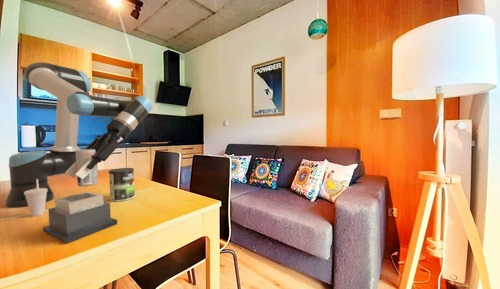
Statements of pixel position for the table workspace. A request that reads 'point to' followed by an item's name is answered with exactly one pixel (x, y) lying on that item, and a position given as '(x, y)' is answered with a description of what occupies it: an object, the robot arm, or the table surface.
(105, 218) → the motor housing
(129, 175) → the coffee can
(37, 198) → the smoothie
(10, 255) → the table surface
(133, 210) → the table surface
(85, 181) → the energy drink
